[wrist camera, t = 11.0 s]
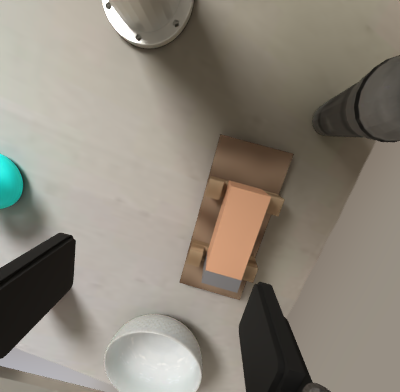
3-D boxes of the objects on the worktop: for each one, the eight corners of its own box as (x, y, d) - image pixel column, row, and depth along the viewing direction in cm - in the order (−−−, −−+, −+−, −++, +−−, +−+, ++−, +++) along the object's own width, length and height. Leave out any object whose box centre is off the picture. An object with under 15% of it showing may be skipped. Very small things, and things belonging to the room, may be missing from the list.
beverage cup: (295, 140, 30) (439, 121, 11) (311, 87, 28) (518, -50, 9) (344, 149, 30) (584, 149, 10) (363, 97, 28) (694, -23, 9)
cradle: (220, 135, 31) (220, 132, 26) (290, 153, 30) (303, 154, 26) (181, 277, 37) (175, 296, 32) (238, 293, 37) (241, 315, 32)
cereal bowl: (114, 351, 42) (94, 390, 36) (132, 287, 38) (113, 317, 32) (190, 377, 42) (185, 421, 35) (215, 316, 38) (215, 352, 31)
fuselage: (228, 180, 29) (230, 186, 24) (262, 189, 29) (271, 197, 24) (203, 262, 33) (201, 282, 28) (234, 271, 32) (237, 293, 27)
